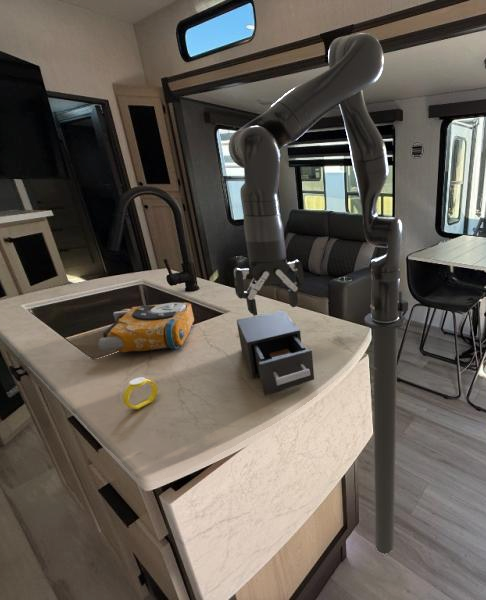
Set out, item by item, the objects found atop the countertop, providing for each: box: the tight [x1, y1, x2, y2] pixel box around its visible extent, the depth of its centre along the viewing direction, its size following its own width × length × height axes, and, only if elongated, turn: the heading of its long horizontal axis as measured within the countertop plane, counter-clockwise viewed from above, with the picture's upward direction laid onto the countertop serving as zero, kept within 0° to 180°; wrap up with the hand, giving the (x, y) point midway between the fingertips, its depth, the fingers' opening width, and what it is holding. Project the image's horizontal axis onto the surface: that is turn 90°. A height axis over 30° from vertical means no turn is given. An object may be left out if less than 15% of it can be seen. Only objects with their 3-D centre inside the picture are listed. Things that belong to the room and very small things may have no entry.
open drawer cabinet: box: [251, 334, 315, 396], centre depth 75 cm, size 19×11×8 cm, turn 32°
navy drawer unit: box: [236, 310, 302, 378], centre depth 85 cm, size 16×13×10 cm
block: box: [269, 349, 291, 359], centre depth 75 cm, size 4×4×4 cm
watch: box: [122, 376, 159, 410], centre depth 67 cm, size 6×3×6 cm, turn 158°
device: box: [97, 302, 195, 353], centre depth 96 cm, size 23×8×30 cm
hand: (274, 310), depth 71 cm, fingers open, 8 cm apart
